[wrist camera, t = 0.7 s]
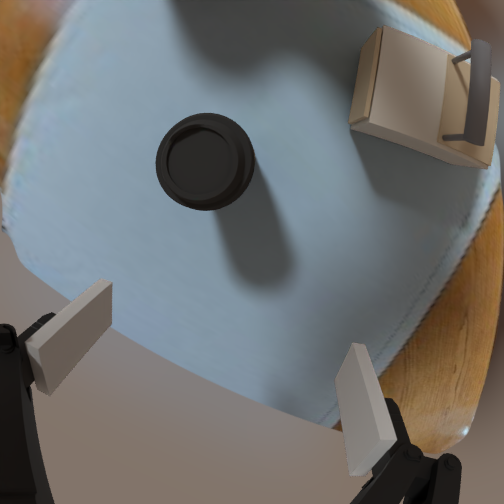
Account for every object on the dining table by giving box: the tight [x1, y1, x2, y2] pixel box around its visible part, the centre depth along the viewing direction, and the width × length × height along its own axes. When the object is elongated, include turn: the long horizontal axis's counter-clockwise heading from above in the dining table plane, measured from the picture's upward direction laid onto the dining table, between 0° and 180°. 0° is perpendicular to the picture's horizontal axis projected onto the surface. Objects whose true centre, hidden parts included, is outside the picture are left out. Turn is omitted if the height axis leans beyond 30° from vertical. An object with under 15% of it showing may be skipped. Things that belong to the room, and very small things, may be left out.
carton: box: [348, 25, 498, 169], centre depth 30 cm, size 12×17×9 cm
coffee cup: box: [156, 113, 255, 211], centre depth 32 cm, size 9×9×15 cm
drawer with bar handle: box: [437, 39, 500, 166], centre depth 22 cm, size 11×8×8 cm
